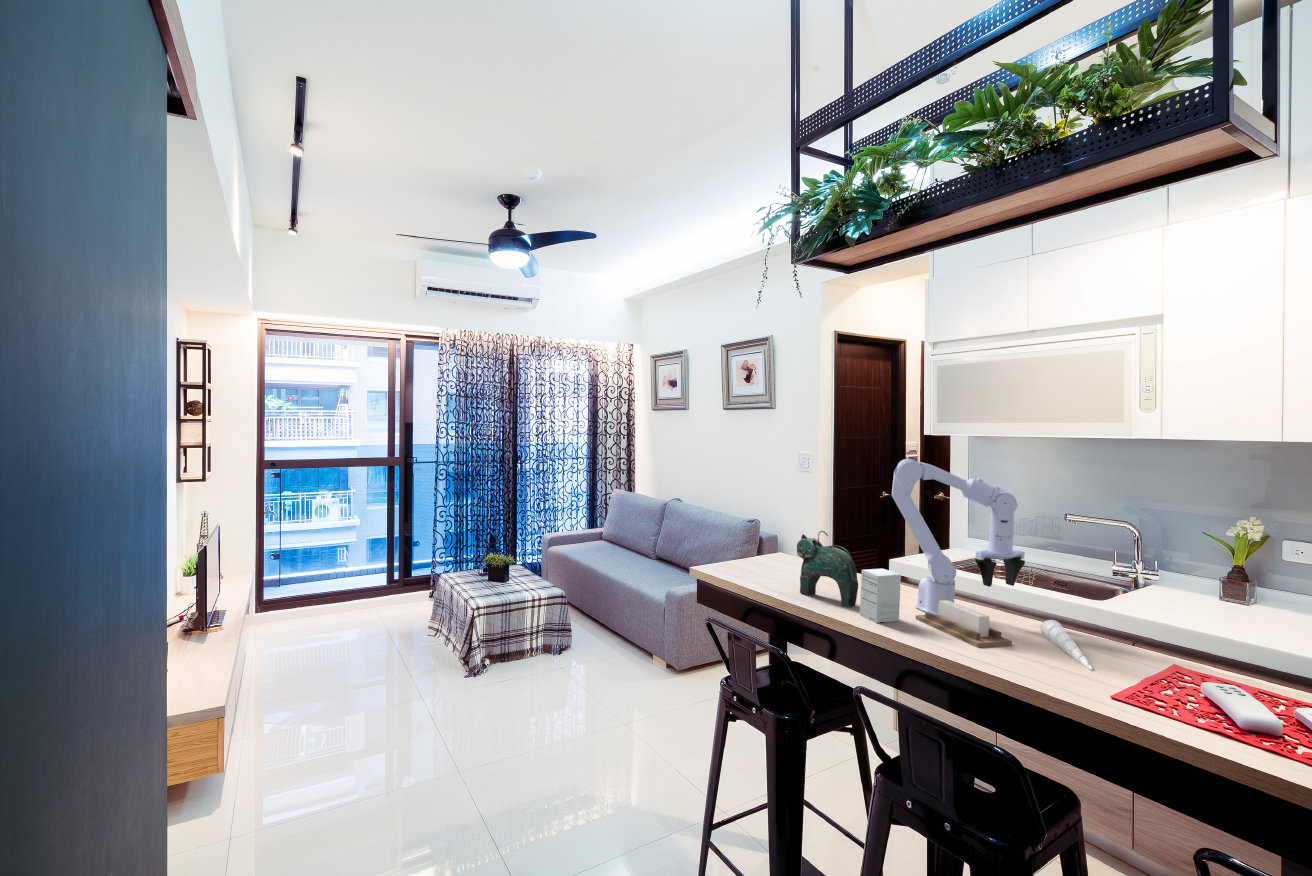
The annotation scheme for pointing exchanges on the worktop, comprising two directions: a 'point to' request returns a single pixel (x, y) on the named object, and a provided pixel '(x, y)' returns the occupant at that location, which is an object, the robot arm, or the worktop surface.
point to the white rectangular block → (964, 617)
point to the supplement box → (880, 595)
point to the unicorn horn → (1063, 641)
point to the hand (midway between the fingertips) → (998, 585)
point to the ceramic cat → (827, 568)
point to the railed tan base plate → (964, 631)
